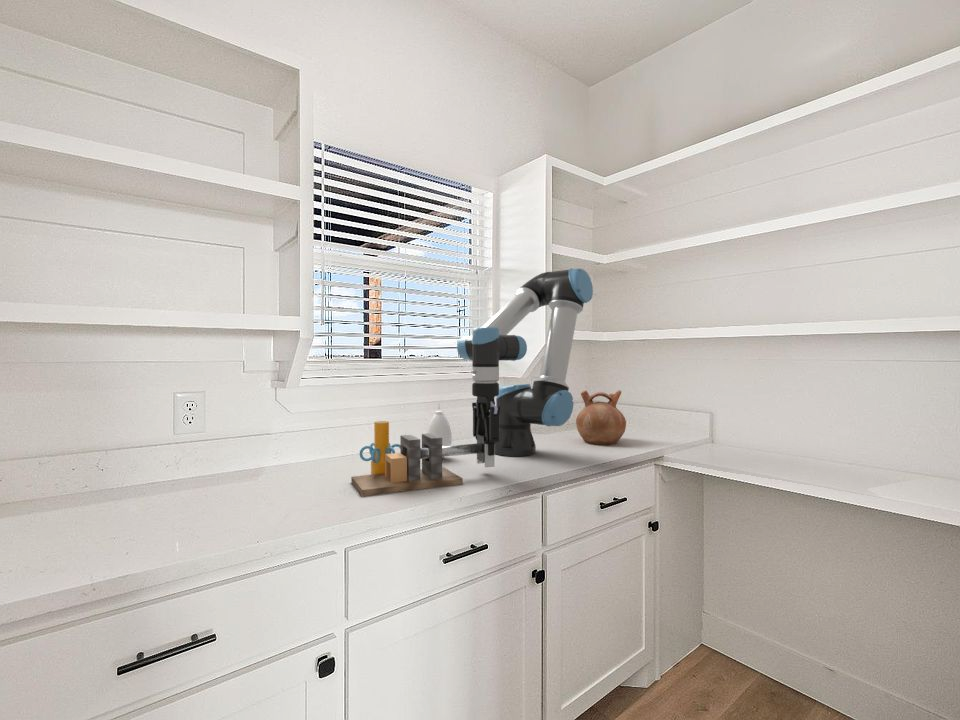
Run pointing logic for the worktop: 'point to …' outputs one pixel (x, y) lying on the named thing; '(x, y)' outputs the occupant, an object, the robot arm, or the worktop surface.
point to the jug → (601, 420)
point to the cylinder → (379, 447)
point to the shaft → (461, 449)
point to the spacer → (396, 467)
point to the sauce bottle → (440, 427)
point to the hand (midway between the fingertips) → (485, 464)
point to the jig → (412, 469)
